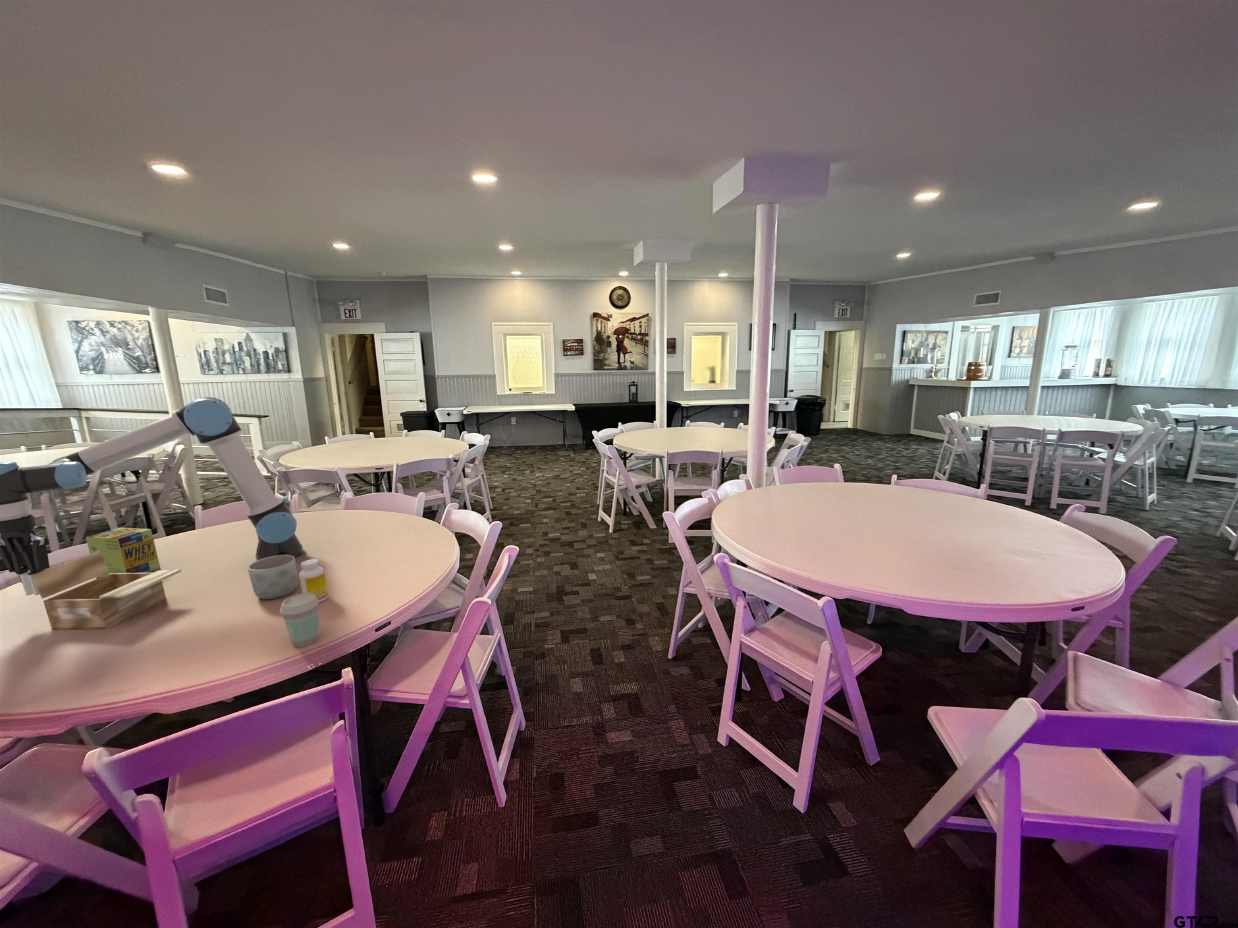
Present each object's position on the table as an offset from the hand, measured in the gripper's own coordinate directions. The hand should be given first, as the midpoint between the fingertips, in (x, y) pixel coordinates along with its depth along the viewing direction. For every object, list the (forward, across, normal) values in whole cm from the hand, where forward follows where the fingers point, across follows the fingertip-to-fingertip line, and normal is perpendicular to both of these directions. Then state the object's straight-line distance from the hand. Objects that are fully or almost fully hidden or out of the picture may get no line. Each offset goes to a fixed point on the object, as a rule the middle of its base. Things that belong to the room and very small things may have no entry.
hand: (37, 592), depth 139 cm
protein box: (+10, +11, -34) cm, 37 cm away
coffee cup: (+10, -86, +12) cm, 88 cm away
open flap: (-4, -7, -4) cm, 9 cm away
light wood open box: (+9, -19, -4) cm, 22 cm away
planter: (+10, -58, -15) cm, 61 cm away
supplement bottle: (+10, -74, -10) cm, 76 cm away
